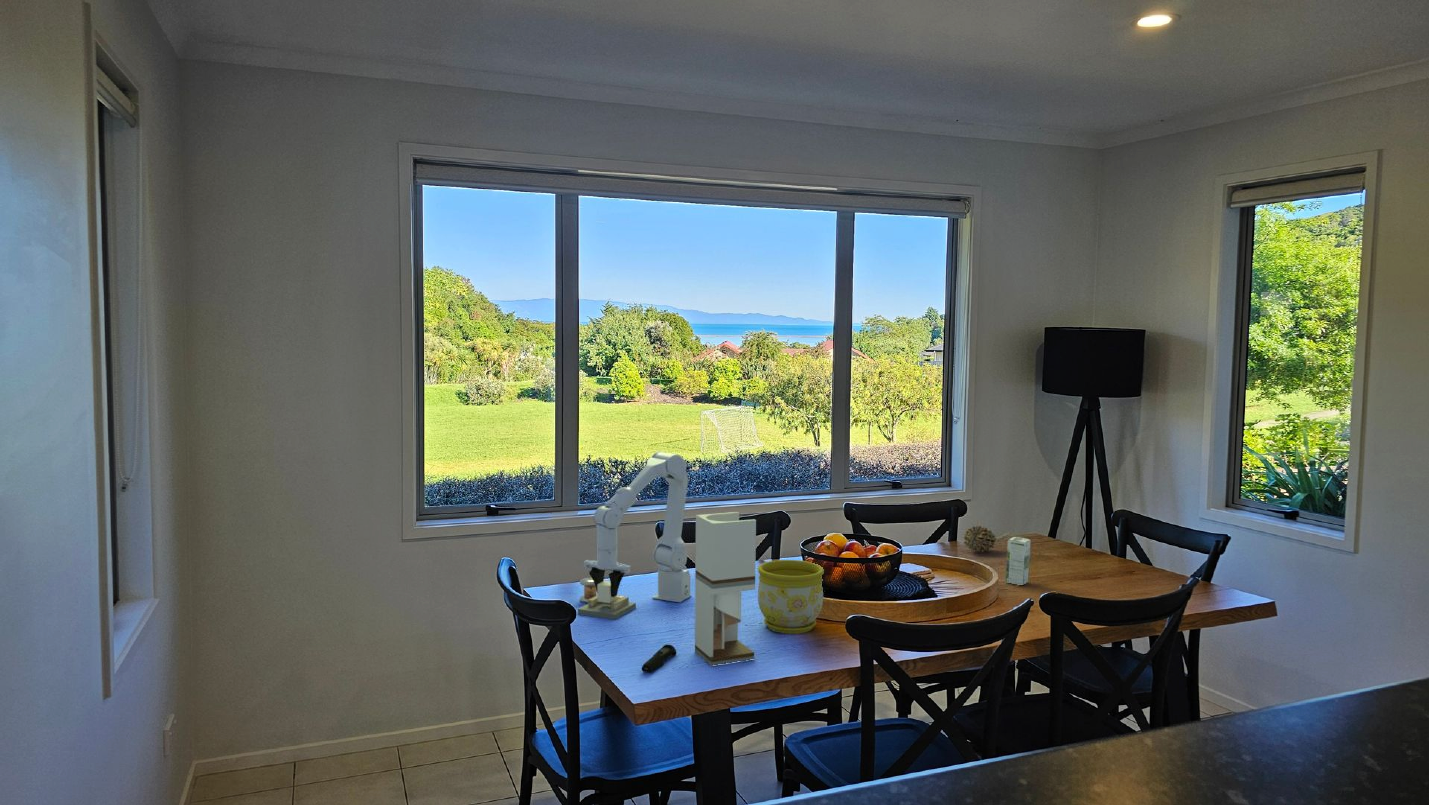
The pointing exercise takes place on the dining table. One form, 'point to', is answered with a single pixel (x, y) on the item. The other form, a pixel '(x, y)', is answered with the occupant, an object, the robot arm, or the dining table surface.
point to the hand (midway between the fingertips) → (607, 595)
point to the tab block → (605, 592)
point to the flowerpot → (790, 595)
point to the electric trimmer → (659, 658)
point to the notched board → (607, 608)
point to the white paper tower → (722, 584)
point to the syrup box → (1018, 561)
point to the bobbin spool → (588, 589)
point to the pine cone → (981, 538)
